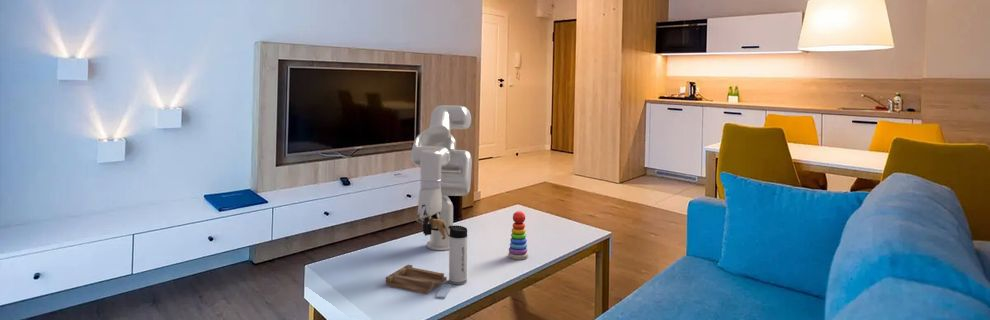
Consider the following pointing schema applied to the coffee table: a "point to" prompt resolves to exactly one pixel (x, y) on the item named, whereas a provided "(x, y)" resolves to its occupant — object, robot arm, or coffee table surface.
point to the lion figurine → (435, 225)
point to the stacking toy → (518, 237)
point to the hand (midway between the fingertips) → (431, 231)
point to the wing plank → (443, 291)
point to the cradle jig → (415, 279)
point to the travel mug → (458, 255)
